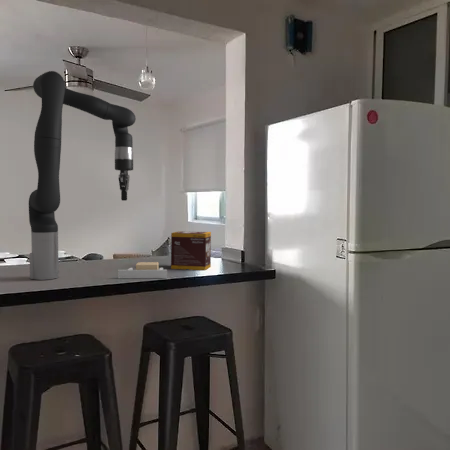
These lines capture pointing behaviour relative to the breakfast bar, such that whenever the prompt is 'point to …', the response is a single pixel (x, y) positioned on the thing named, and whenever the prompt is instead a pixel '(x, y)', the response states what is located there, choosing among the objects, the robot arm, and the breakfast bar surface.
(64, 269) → the breakfast bar surface
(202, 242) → the supplement box
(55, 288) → the breakfast bar surface
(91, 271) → the breakfast bar surface
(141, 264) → the carton
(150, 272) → the display stand
